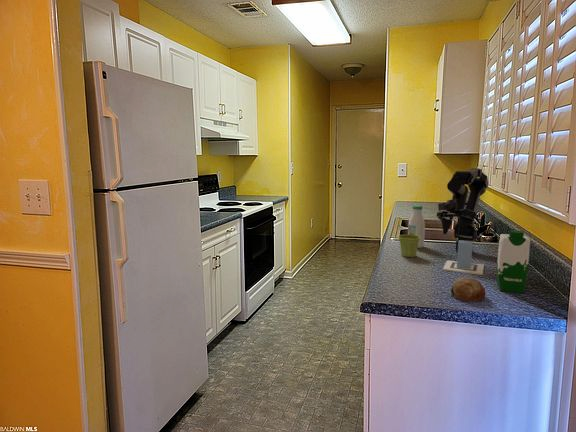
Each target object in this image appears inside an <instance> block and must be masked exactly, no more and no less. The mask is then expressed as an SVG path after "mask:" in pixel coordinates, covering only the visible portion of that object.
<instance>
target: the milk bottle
mask: <svg viewBox="0 0 576 432" xmlns="http://www.w3.org/2000/svg"><path fill="white" fill-rule="evenodd" d="M425 221H426V220H425V218H424V216H423V205H417V204H416V205H412V213H411V216H410V218H409V219H408V226H407V235H417V236H420V237H421V238H420V239H419V242H418V247H417V249H421V248H424V246H425V235H426V234H425V232H426V230H425V229H426V223H425Z"/></svg>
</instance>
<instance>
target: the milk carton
mask: <svg viewBox="0 0 576 432" xmlns="http://www.w3.org/2000/svg"><path fill="white" fill-rule="evenodd" d="M524 234H525V232H524V231H522V230H509V233H508V234H507V233H505V234H504V233H501V234H500V235H499V236H500V237H499V241H498V250H497V261H496V262H497V264H496V281H497V282H496V284H497V286H498V289H499V291H500V292H506V293H517V294H518V293H519V294H525V291H526V286H527V285H526V284H527V280H528V269H529V263H530V262H529V261H530V248H531V239H530V238H529V237H528V236H526V235H524Z"/></svg>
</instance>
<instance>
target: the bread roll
mask: <svg viewBox="0 0 576 432" xmlns="http://www.w3.org/2000/svg"><path fill="white" fill-rule="evenodd" d="M485 290H486V288H485V287H484V286H483V285H482V283H481V282H480V281H479V280H477V279H475V278H472V277H466V276H465V277H464V276H463V277H459V278H457V279H456V280H455V281H454V282H453V284H452V285H451V288H450V294H449V295H450V296H452V297H454V298H455V299H458V300H459V301H462V300H463V302H469V301H470V303H475V301H476V302H481V301H483V300H484V299H485V297H486V291H485ZM480 300H481V301H480Z"/></svg>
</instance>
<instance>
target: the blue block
mask: <svg viewBox="0 0 576 432" xmlns="http://www.w3.org/2000/svg"><path fill="white" fill-rule="evenodd" d="M473 242H474V240H473V241H464V240H459V242H458V252H457V256H456V257H457V258H456V261H457V268H466V269H471V263H472V255H473V251H472V250H473V246H472V244H473Z"/></svg>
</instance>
